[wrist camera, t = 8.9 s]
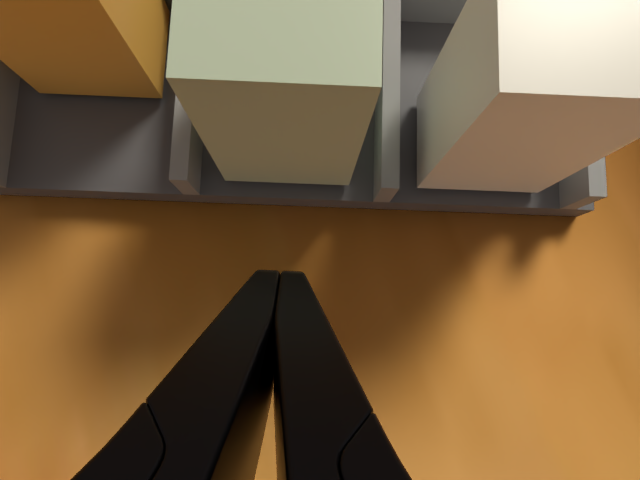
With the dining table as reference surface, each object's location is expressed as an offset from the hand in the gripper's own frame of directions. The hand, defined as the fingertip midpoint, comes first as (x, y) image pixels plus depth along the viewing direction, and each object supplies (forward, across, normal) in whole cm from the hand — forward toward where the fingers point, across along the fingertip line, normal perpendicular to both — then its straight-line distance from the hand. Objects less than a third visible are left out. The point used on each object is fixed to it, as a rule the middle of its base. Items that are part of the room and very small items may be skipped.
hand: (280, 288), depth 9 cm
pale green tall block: (+11, 0, +2) cm, 11 cm away
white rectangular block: (+11, -6, +2) cm, 13 cm away
